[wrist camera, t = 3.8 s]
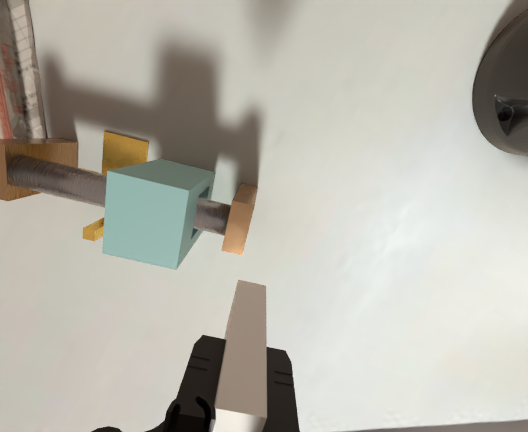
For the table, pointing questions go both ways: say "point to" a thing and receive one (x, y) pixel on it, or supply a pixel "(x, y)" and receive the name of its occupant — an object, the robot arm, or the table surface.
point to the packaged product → (19, 74)
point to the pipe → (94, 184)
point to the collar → (154, 211)
